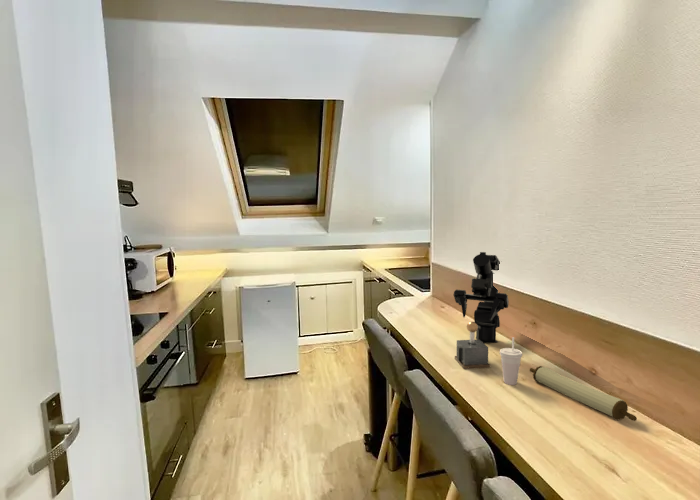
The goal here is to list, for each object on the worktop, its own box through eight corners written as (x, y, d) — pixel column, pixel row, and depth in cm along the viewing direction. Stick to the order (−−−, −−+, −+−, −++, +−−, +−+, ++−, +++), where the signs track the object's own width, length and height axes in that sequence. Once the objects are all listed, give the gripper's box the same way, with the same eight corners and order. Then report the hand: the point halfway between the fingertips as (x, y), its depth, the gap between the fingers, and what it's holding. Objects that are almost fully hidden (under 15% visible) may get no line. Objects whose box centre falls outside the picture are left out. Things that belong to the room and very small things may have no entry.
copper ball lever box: (479, 357, 143) (480, 338, 142) (490, 367, 134) (490, 347, 133) (453, 358, 142) (453, 339, 141) (462, 368, 133) (462, 348, 132)
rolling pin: (523, 378, 125) (523, 363, 125) (536, 375, 127) (537, 360, 127) (628, 430, 96) (629, 410, 95) (643, 425, 98) (644, 405, 97)
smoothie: (523, 387, 119) (525, 341, 117) (500, 386, 120) (501, 340, 118) (519, 378, 125) (520, 334, 123) (497, 377, 126) (498, 333, 125)
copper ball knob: (477, 345, 140) (477, 319, 139) (483, 351, 135) (484, 323, 134) (460, 346, 140) (461, 319, 139) (466, 352, 134) (466, 324, 133)
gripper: (454, 268, 151) (446, 303, 142) (508, 271, 142) (502, 309, 133) (460, 285, 159) (452, 319, 150) (510, 289, 149) (505, 326, 141)
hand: (476, 318), depth 143 cm, fingers open, 9 cm apart
